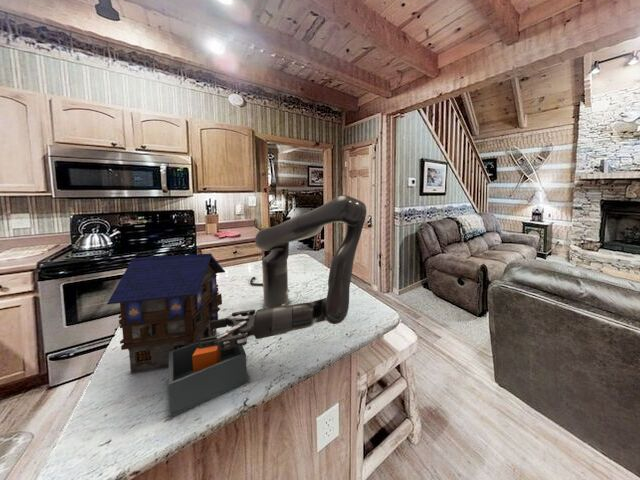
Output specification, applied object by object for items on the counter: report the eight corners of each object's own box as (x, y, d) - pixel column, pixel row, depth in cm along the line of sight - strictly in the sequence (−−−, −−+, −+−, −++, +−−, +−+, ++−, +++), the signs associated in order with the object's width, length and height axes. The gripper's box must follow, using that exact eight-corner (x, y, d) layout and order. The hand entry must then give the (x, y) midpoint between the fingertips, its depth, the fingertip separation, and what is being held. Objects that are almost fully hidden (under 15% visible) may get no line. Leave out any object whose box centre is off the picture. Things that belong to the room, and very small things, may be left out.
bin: (171, 379, 66) (168, 351, 66) (237, 353, 76) (235, 329, 76) (170, 417, 56) (168, 385, 55) (247, 381, 66) (245, 353, 65)
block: (198, 376, 66) (196, 347, 66) (221, 370, 68) (220, 343, 68) (194, 385, 64) (192, 355, 63) (218, 379, 66) (216, 350, 65)
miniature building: (207, 366, 71) (200, 263, 69) (111, 382, 65) (100, 270, 63) (233, 328, 89) (229, 245, 87) (160, 338, 83) (153, 249, 81)
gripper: (277, 297, 77) (212, 307, 71) (271, 321, 64) (192, 336, 58) (278, 320, 78) (214, 332, 72) (273, 349, 65) (194, 366, 59)
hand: (204, 334), depth 65 cm, fingers open, 8 cm apart
